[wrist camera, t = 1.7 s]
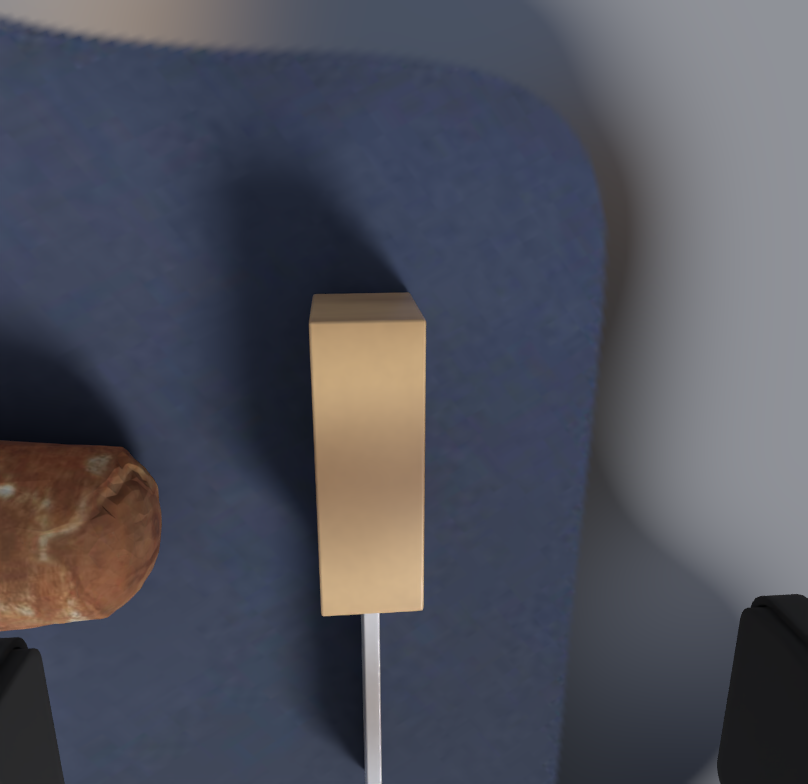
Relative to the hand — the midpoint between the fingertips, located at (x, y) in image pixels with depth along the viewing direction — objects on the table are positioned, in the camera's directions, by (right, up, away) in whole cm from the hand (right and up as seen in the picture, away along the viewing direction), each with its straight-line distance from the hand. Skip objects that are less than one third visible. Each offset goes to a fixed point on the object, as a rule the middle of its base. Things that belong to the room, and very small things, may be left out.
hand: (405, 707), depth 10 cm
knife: (-1, -1, +10) cm, 10 cm away
